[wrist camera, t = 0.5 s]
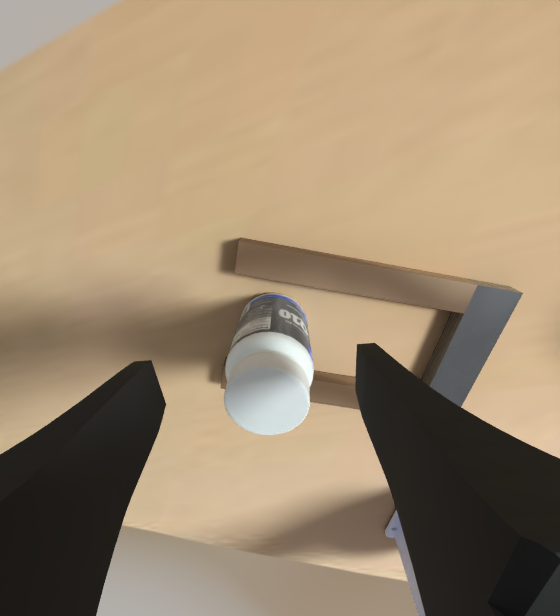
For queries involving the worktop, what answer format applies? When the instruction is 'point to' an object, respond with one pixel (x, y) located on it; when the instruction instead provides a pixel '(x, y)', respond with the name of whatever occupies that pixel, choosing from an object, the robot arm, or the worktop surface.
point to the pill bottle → (269, 366)
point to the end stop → (470, 340)
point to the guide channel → (353, 280)
